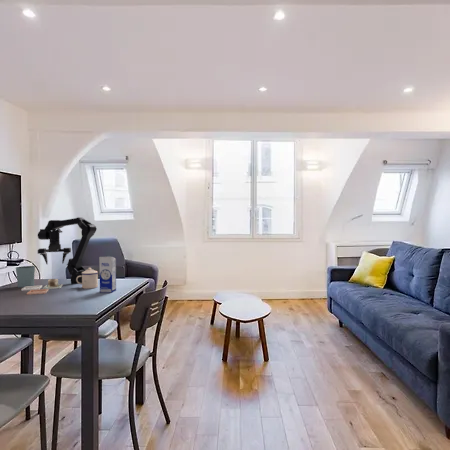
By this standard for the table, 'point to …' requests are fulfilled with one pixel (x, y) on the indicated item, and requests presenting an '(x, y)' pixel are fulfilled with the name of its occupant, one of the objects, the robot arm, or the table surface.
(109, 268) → the milk carton
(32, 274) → the teal patterned cup
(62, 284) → the dish
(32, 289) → the dish
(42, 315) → the table surface
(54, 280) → the letter cube
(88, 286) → the teacup with lid
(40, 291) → the dish
